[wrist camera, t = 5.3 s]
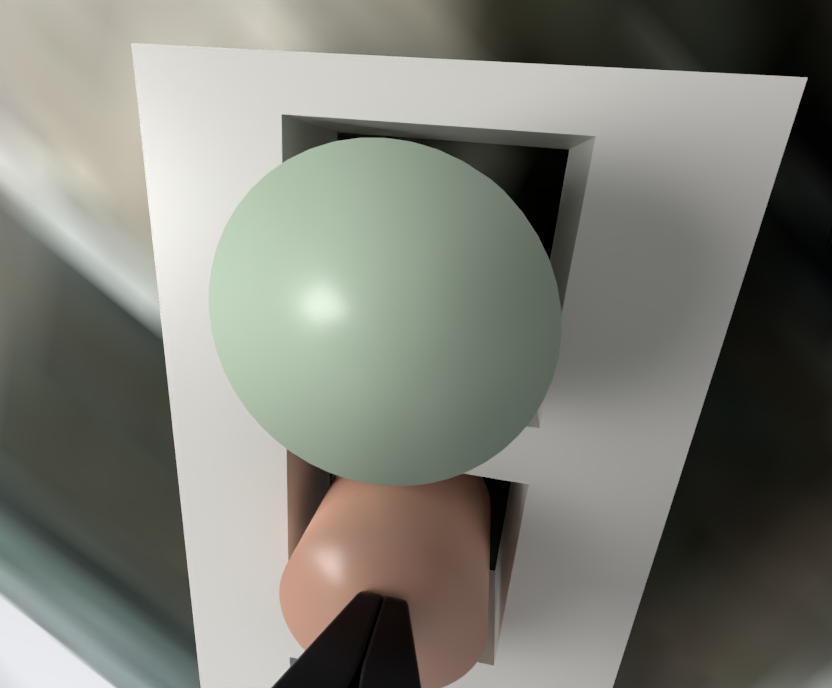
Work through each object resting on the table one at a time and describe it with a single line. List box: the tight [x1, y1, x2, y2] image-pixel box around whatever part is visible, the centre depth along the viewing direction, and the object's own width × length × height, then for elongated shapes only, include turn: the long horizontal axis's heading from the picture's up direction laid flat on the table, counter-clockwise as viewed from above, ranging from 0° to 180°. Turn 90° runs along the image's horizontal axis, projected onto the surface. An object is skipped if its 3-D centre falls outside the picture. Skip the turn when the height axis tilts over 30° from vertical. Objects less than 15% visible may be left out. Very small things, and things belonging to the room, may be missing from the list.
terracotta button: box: [279, 474, 491, 688], centre depth 9 cm, size 4×4×3 cm
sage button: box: [209, 138, 562, 486], centre depth 6 cm, size 4×4×3 cm
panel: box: [131, 43, 808, 688], centre depth 10 cm, size 9×17×2 cm, turn 175°
